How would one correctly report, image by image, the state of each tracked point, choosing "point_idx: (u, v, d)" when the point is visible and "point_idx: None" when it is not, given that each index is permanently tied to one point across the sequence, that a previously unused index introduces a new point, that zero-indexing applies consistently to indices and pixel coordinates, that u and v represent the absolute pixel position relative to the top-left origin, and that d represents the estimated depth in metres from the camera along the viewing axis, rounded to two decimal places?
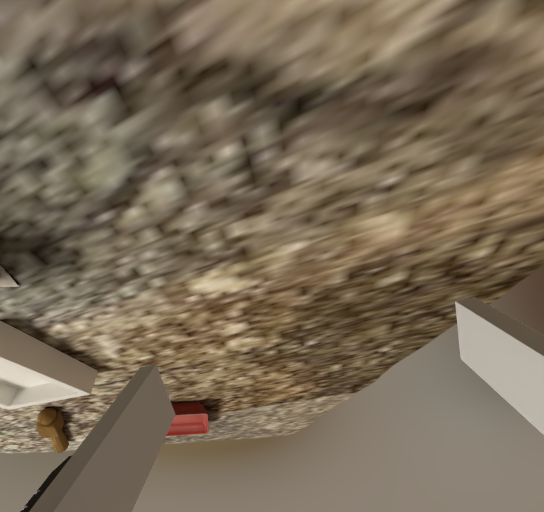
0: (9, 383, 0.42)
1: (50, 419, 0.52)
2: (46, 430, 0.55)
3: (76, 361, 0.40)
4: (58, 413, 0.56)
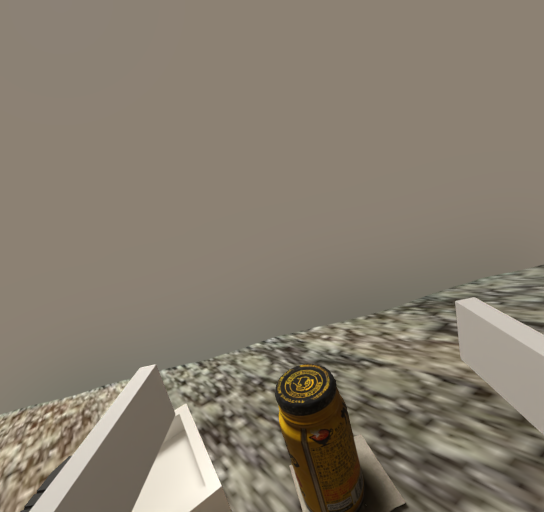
0: None
1: None
2: None
3: None
4: None
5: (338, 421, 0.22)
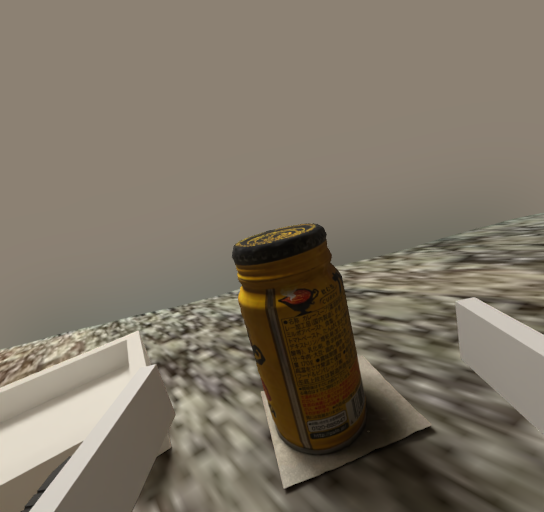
0: None
1: None
2: None
3: None
4: None
5: (328, 282, 0.14)
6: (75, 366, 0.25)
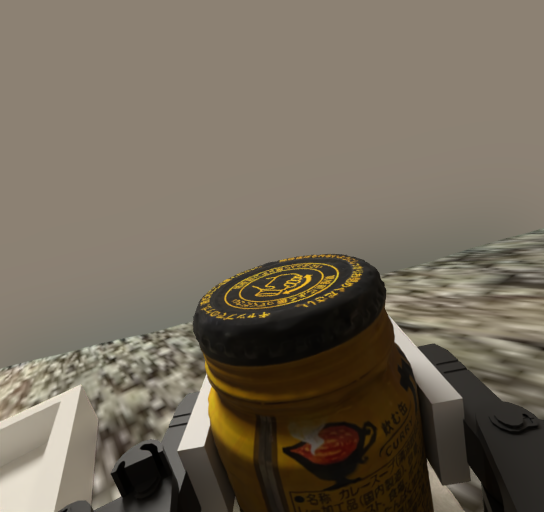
0: None
1: None
2: None
3: None
4: None
5: (394, 400, 0.06)
6: None
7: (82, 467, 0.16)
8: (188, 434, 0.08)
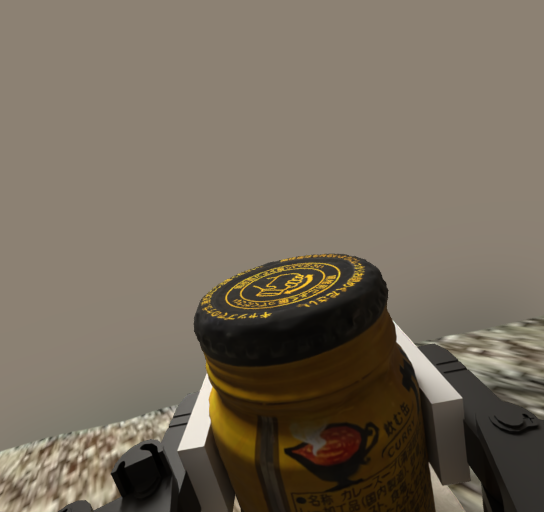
0: None
1: None
2: None
3: None
4: None
5: (396, 400, 0.06)
6: None
7: None
8: (188, 434, 0.08)
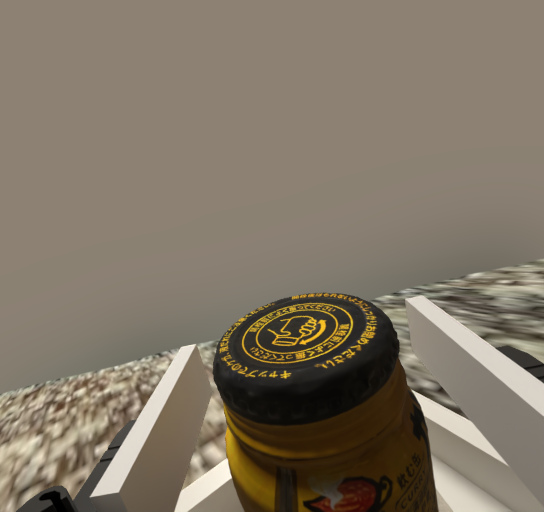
0: None
1: None
2: None
3: None
4: None
5: (408, 451, 0.06)
6: None
7: None
8: (107, 476, 0.07)
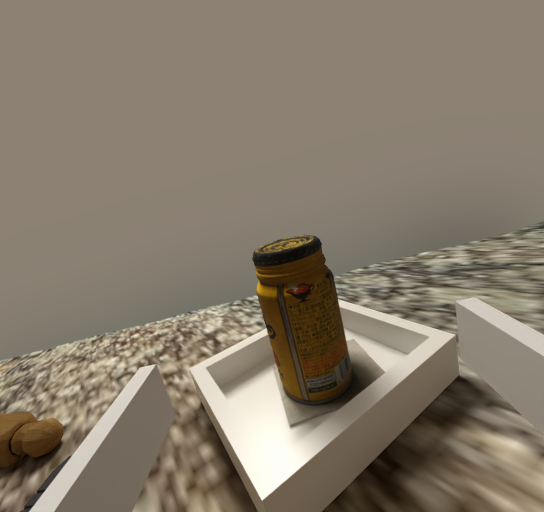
0: (240, 382, 0.25)
1: (34, 438, 0.23)
2: None
3: (345, 484, 0.15)
4: (12, 461, 0.23)
5: (321, 279, 0.19)
6: None
7: None
8: None
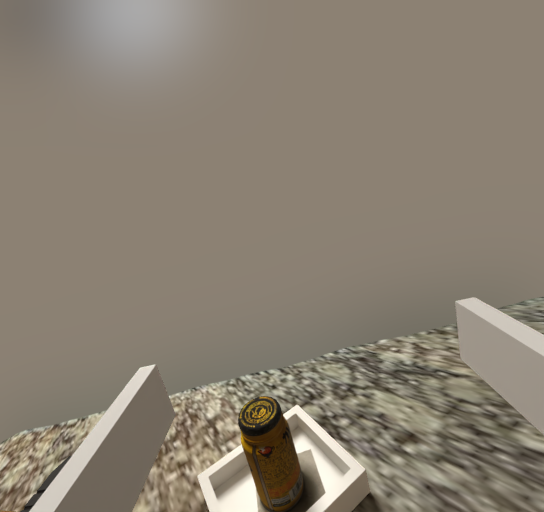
0: (232, 484, 0.37)
1: None
2: None
3: None
4: None
5: (279, 441, 0.31)
6: None
7: None
8: None
